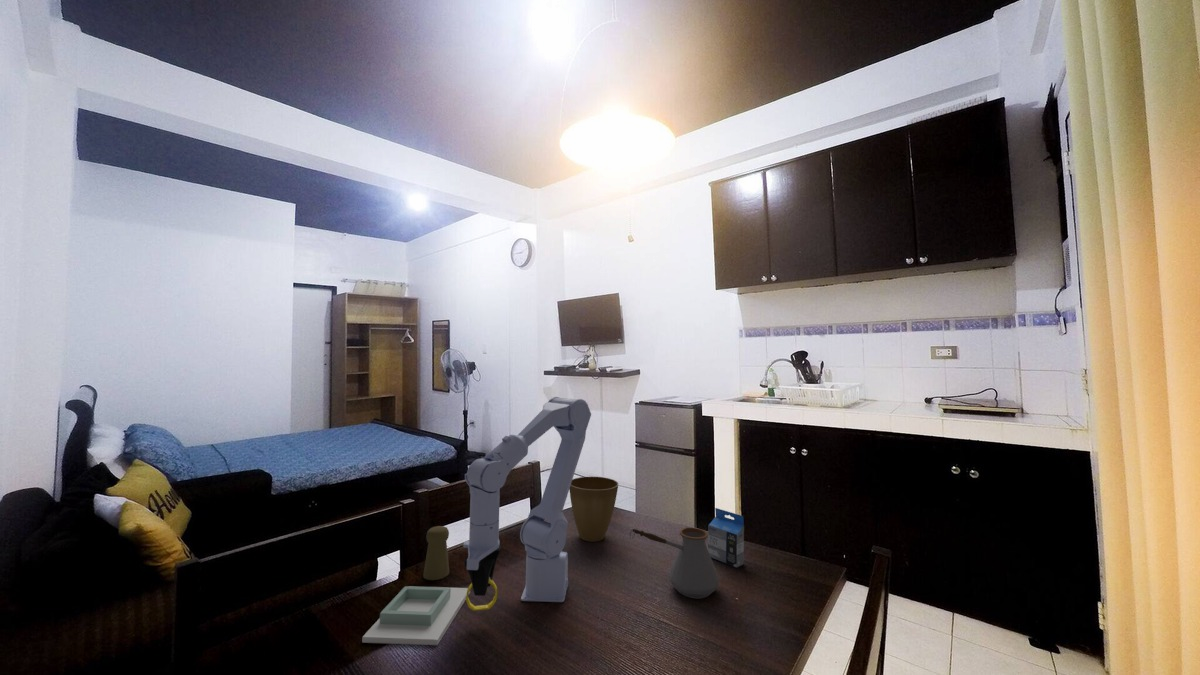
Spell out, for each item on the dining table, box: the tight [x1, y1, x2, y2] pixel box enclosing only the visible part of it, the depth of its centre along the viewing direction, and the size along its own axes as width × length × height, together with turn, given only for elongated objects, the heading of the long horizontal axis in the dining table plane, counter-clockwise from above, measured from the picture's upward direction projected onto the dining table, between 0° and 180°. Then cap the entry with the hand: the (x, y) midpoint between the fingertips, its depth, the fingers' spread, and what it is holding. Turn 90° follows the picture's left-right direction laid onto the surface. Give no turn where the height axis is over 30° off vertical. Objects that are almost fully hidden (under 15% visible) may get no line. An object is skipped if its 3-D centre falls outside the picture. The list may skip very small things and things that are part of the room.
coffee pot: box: [629, 526, 720, 600], centre depth 99 cm, size 21×12×15 cm, turn 105°
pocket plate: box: [361, 585, 471, 646], centre depth 88 cm, size 14×18×3 cm
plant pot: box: [569, 476, 619, 543], centre depth 129 cm, size 15×15×16 cm
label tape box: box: [707, 507, 745, 568], centre depth 115 cm, size 9×4×12 cm, turn 42°
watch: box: [465, 577, 498, 612], centre depth 86 cm, size 6×3×6 cm, turn 105°
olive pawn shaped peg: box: [422, 525, 450, 581], centre depth 106 cm, size 6×6×11 cm
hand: (482, 590), depth 86 cm, fingers closed on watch, 3 cm apart
